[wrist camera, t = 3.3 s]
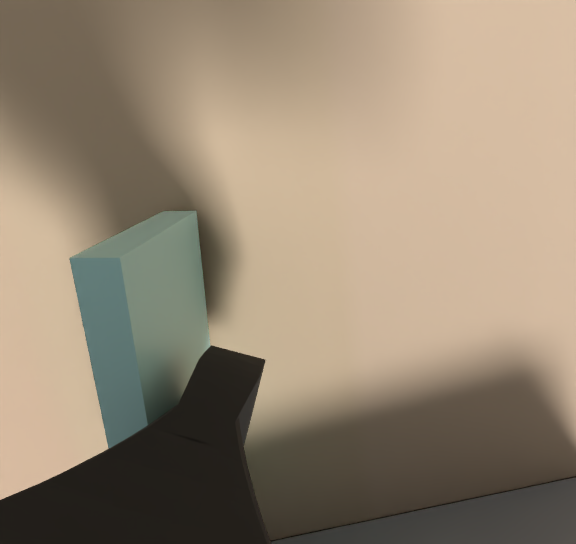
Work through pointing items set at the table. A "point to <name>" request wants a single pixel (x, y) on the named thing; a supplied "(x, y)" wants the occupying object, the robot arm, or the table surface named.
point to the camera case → (470, 521)
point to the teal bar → (143, 318)
